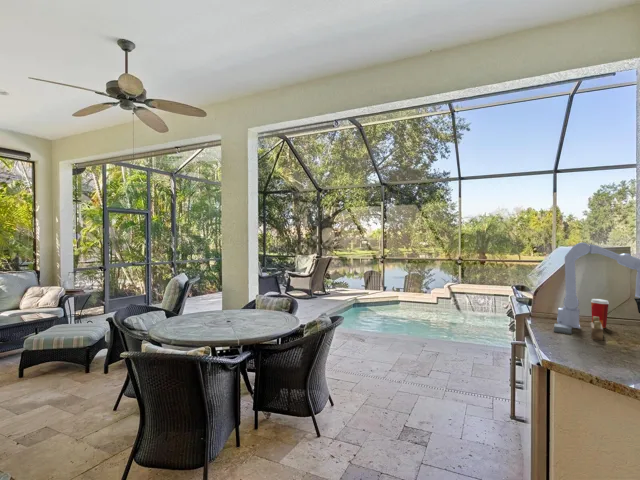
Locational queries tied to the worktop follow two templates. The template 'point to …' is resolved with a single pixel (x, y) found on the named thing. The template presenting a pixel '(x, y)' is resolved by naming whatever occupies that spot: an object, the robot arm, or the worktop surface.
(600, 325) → the bench dog block
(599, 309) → the paper cup
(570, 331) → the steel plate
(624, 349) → the worktop surface
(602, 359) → the worktop surface
